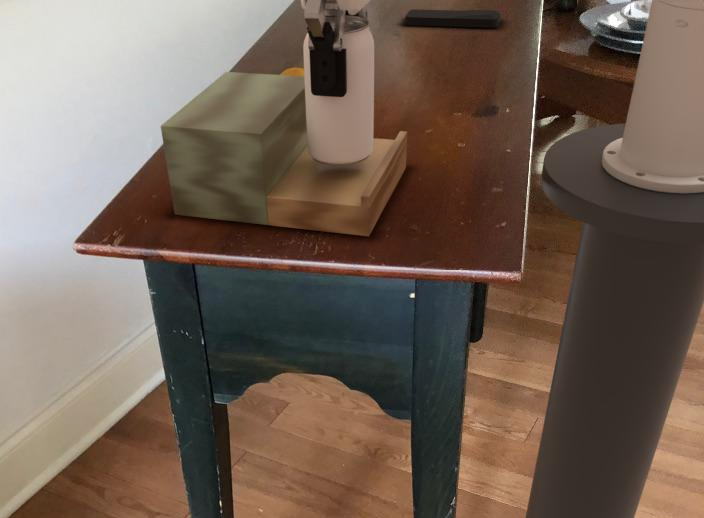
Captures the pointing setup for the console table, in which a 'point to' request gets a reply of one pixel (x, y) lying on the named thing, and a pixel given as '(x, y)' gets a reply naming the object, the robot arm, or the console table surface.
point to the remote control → (453, 18)
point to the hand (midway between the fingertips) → (340, 80)
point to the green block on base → (270, 161)
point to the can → (344, 102)
